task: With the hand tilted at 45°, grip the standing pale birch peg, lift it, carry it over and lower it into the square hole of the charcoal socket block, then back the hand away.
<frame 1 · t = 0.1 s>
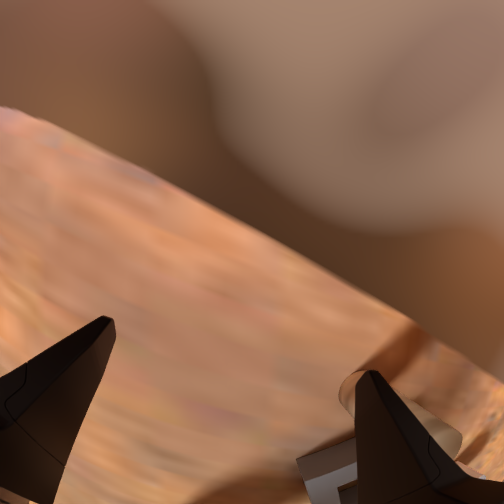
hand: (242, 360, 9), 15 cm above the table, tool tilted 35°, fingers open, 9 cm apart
shot glass: (447, 473, 24), on the table
socket: (354, 471, 23), on the table
peg: (358, 390, 24), on the table
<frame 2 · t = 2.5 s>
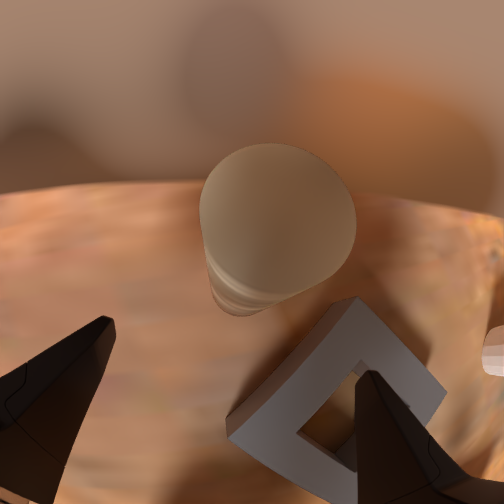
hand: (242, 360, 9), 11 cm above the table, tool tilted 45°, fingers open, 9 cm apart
shot glass: (492, 350, 22), on the table
socket: (336, 407, 18), on the table
peg: (241, 286, 20), on the table
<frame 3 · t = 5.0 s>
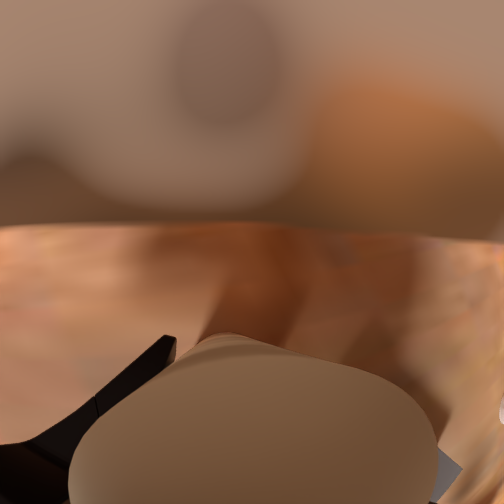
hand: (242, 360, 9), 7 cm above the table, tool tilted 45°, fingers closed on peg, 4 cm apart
socket: (338, 490, 13), on the table
peg: (227, 370, 15), on the table, touching gripper
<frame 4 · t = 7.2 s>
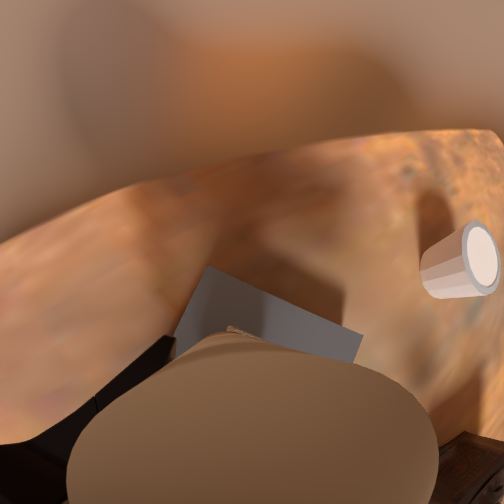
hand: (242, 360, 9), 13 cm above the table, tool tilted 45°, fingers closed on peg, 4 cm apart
shot glass: (436, 272, 25), on the table
pepper mill: (419, 487, 18), on the table
socket: (246, 374, 20), on the table
peg: (227, 369, 15), point 6 cm above the table, touching gripper
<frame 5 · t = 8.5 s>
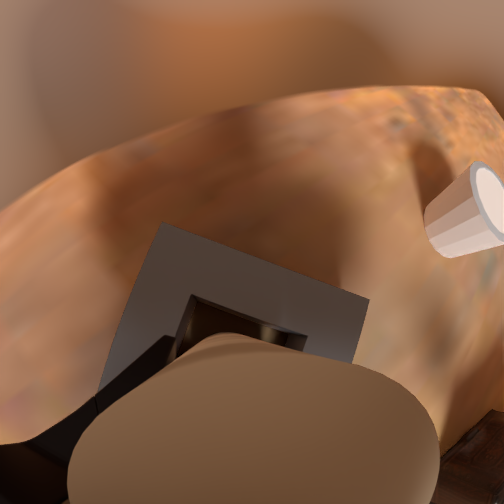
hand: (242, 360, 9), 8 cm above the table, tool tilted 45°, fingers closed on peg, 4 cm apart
shot glass: (443, 229, 21), on the table
pepper mill: (447, 479, 15), on the table
socket: (226, 363, 16), on the table
peg: (227, 370, 15), point 2 cm above the table, touching gripper
when the fingers open (8 cm above the table, at t = 9.4 s): peg drops 1 cm, resting in socket.
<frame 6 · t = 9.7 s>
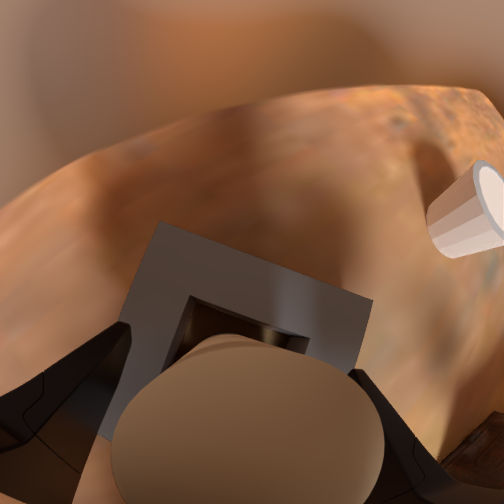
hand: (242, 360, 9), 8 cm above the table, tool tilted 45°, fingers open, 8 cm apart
shot glass: (445, 229, 21), on the table
pepper mill: (450, 481, 14), on the table
socket: (226, 366, 16), on the table
peg: (226, 367, 16), resting in socket
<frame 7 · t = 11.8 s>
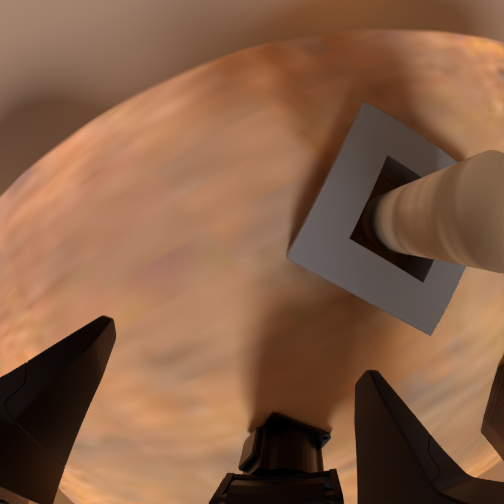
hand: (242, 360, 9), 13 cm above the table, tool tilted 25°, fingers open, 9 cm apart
pepper mill: (502, 392, 19), on the table
socket: (388, 221, 20), on the table
peg: (388, 222, 20), resting in socket
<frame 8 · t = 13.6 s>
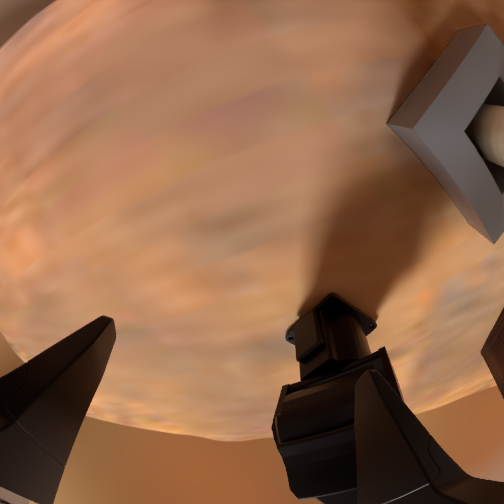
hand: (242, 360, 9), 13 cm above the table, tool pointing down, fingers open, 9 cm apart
socket: (473, 127, 15), on the table
peg: (472, 128, 15), resting in socket
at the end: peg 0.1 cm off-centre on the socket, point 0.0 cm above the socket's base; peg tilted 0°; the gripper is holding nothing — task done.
